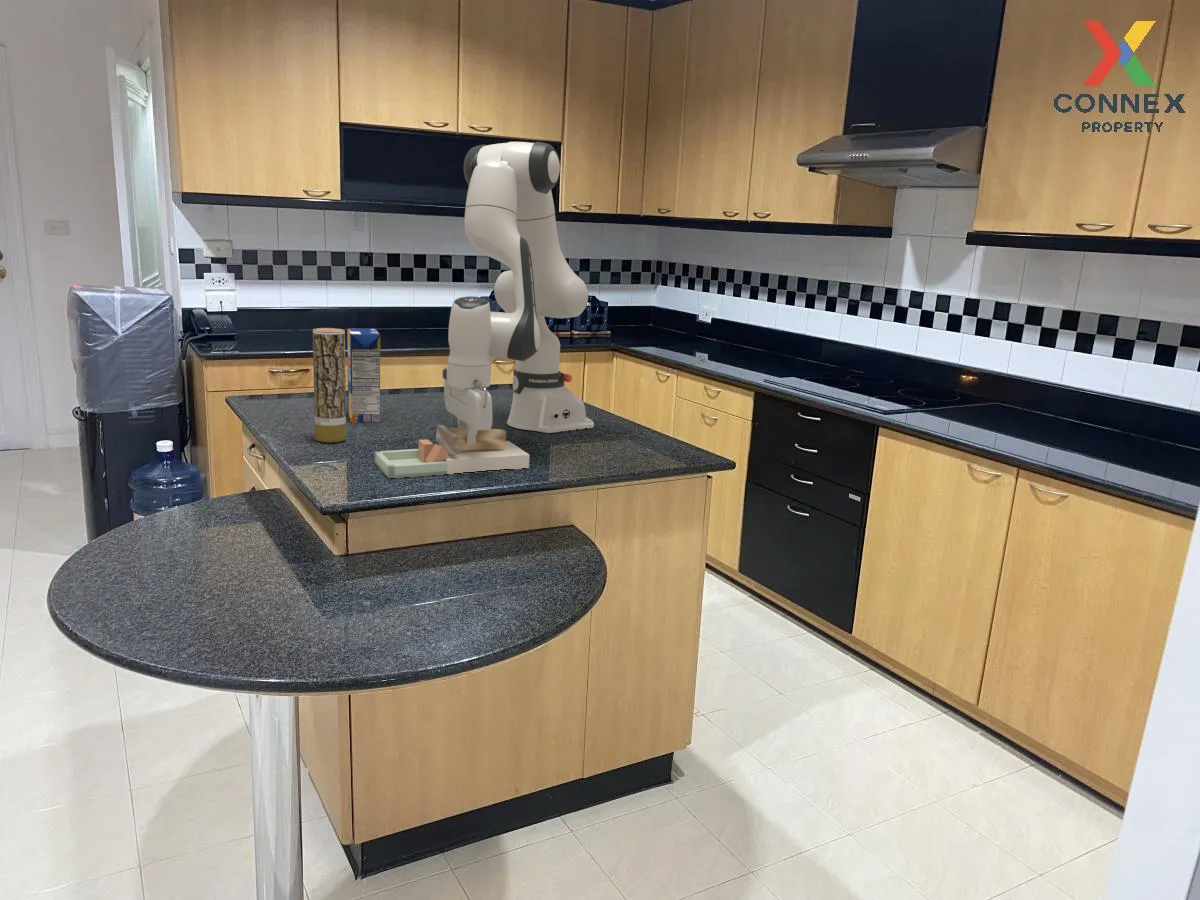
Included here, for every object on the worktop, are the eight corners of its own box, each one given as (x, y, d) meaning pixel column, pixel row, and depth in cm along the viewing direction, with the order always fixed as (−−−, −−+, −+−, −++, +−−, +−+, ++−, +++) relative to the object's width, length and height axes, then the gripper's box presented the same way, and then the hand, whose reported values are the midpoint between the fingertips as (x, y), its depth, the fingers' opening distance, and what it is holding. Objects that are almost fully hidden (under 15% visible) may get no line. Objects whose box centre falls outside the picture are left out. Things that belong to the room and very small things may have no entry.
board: (508, 454, 200) (508, 441, 199) (528, 468, 190) (529, 454, 189) (430, 459, 192) (430, 445, 191) (447, 474, 181) (447, 460, 181)
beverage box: (351, 423, 218) (350, 334, 213) (348, 413, 228) (347, 328, 223) (380, 423, 221) (380, 334, 215) (375, 413, 231) (375, 328, 225)
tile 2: (443, 447, 185) (435, 443, 184) (449, 452, 182) (441, 448, 181) (433, 464, 185) (425, 460, 184) (439, 469, 182) (431, 465, 181)
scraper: (493, 442, 197) (495, 424, 196) (512, 454, 187) (514, 436, 186) (435, 441, 190) (437, 423, 190) (452, 454, 181) (453, 435, 180)
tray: (430, 459, 192) (430, 448, 191) (447, 474, 181) (447, 462, 181) (374, 463, 186) (374, 451, 186) (388, 479, 176) (388, 466, 175)
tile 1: (427, 439, 189) (418, 439, 188) (433, 444, 185) (424, 444, 184) (427, 457, 190) (418, 458, 189) (432, 462, 186) (423, 463, 185)
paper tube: (337, 445, 198) (335, 333, 192) (309, 441, 199) (306, 330, 193) (351, 438, 204) (350, 329, 198) (324, 435, 206) (322, 327, 199)
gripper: (501, 385, 177) (499, 452, 180) (467, 368, 194) (465, 429, 198) (471, 386, 174) (469, 454, 178) (439, 368, 192) (438, 430, 195)
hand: (467, 441), depth 188 cm, fingers closed on scraper, 2 cm apart
